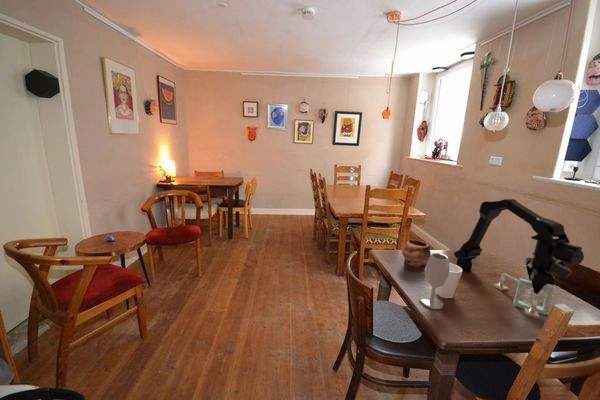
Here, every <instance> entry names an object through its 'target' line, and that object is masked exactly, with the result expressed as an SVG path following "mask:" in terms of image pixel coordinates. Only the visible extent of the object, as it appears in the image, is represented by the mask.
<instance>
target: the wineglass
mask: <svg viewBox="0 0 600 400" xmlns="http://www.w3.org/2000/svg"><path fill="white" fill-rule="evenodd" d="M449 263H450V259H449V257H448V256H447V255H445V254H443V253H440V252H432V254H431V256H430V258H429V259H428V262H427V265H426V267H425V269H424V279H425V281H426V282H427V283H428V284H429V285H430V287H431V291H430V295H422V296H421V297H420V298H419V300H418V301H419V303H421V304H422V305H423V306H424V307H426V308H429V309H432V310H442V308H443V307H444V303H443V302H442V301H441V300H440V299H439V298H437V297H435V295H436V288H437V287H440V286H443V285H444V284H445V282H446V280H447V278H448V275H449Z"/></svg>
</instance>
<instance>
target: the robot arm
mask: <svg viewBox="0 0 600 400" xmlns="http://www.w3.org/2000/svg"><path fill="white" fill-rule="evenodd" d="M478 210H479V218H478V220H477V223H476V225H474V228H473V231H472V232H471V235H470V237H469V239H468V240H467V241H465V242H464V243H463V244H462V245H461V247H459V249H458V250H457V251H454V255H453V256H454V258H456V263H455V265H457V266H459V267H460V268H461V269H462V272H466V273H471V270H472V267H473V261H472V260H475V259H476V258H477V257H480V256H481V253H482V252H483V248H481V242H482V240H483V238H484V237H485V235H486V233H487V232H488V229H489V227H490V225H491V223H492V221H493V220H494V219H497V218H498V217H499V216H500V214H501V213H502V211H506V210H508V211H509V212H511V213H512V214H513V215H515V216H516V217H518V218H520V219H521V220H522V221H524V222H526V223H527V224H529V225H530V226H531V228H532V230H533V231H534V232H535V233H536V234H535V235H533V236H531V240H535V241H536V244H535V247H534V251H532V252H531V255H532V257H527V258H525V261H524V264H525V269H526V272H527V275H528V280H529V281H532V286H533V291H534V293H535V294H536V295H538V294H539V293H540V292H541V291H542V290H541V289H542V288H543V287H544V286H545V285H550V286H555V285H556V283H557V279H556V278H555V276H554V275H553V273H555V274H557V275H559V276H561V278H563V279H567V278H568V277H570V275H571V274H572V273H573V272H572V271H573V270H571V269H570V268H569V267H568V266H567V265H566V263H567V264H569V265H571V266H575V267H576V266H578V265H580V264H582V262H583V260H584V259H585V256H584V252H583V251H582V250H583V247H581V246H580V245H574V244H571V242H570V240H569V238H568V236H567V234H566V232H565V226H564V225H563V224H561V223H560V222H558V221H555V220H553V219H550V218H548V217H547V218H546V217H544V216H541V215H539V214H537V213H536V212H534V211H532V210H531V209H529V208H528V207H526V206H525V205H523V204H522V203H519V202H518V201H517V200H516V199H514V198H505V199H501V200H496V201H494V200H493V201H483V202H481V204H480V207H479V209H478ZM555 259H556V260H555Z"/></svg>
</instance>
